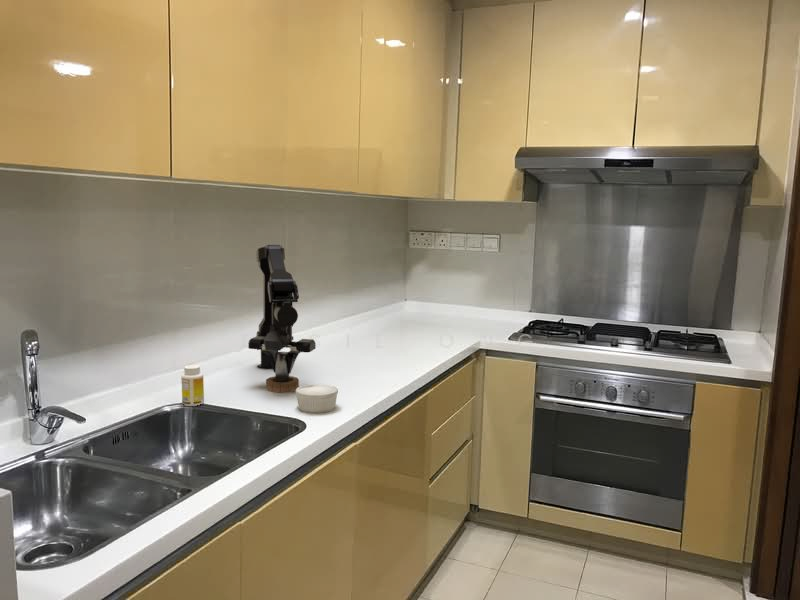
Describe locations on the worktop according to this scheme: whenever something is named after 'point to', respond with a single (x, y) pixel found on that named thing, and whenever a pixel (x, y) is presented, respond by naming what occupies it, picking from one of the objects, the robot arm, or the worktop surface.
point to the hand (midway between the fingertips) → (282, 373)
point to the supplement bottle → (192, 386)
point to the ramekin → (316, 398)
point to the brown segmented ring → (282, 385)
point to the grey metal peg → (281, 367)
